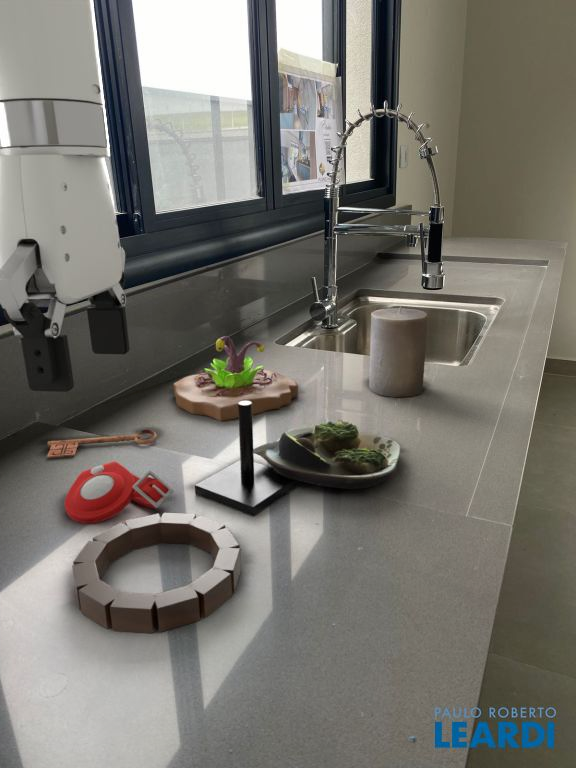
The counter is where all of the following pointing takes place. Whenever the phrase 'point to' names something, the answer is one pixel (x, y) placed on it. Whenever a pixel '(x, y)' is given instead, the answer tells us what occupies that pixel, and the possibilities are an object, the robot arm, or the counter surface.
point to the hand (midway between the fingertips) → (84, 369)
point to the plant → (233, 386)
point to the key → (76, 442)
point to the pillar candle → (397, 351)
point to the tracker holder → (112, 492)
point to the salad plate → (332, 456)
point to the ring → (166, 606)
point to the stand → (246, 476)
